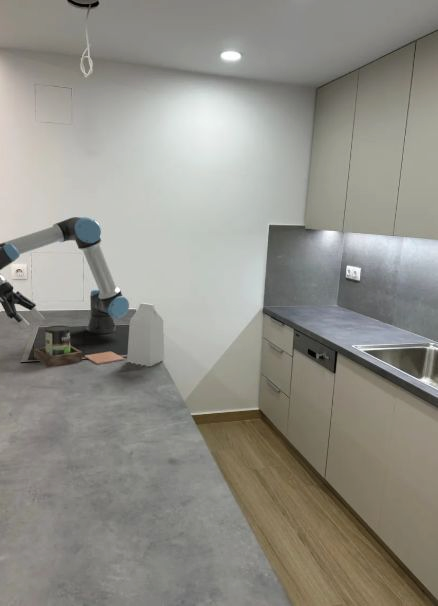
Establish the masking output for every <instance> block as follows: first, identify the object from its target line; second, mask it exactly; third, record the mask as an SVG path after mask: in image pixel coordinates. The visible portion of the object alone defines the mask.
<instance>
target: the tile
mask: <svg viewBox="0 0 438 606" xmlns="http://www.w3.org/2000/svg"><path fill="white" fill-rule="evenodd" d="M84 358H85V359H87V358H88V359H87V360H88V361H90V362H93V363H94V364H95V365H103V364H107V363H108V364H109V363H115V362H119V361H120V360H121V361H125V357H123V356H121V355H119V354H117V353H116V352H113V351H105V352H98V353H93V354H85V355H84ZM114 361H115V362H114Z"/></svg>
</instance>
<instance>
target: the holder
mask: <svg viewBox="0 0 438 606" xmlns="http://www.w3.org/2000/svg"><path fill="white" fill-rule="evenodd" d="M33 358H34V359H36V360H37V359H38V360H39V361H38V360H37V361H38V362H39V363H41V364H42V365H43V366H45V367H46V368H50V367H56V366H61V365H66V364H72V363H73V364H74V363H79V362H83V352H82V351H81V350H80V349H78V348H76V347H74V346H72V345H71V344H70V353H68V354H62V355H55V356H47V355H46V346H43V347H38V348H37V347H36V348H33Z"/></svg>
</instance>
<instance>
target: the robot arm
mask: <svg viewBox="0 0 438 606" xmlns="http://www.w3.org/2000/svg"><path fill="white" fill-rule="evenodd" d="M101 234H102V230H101V226H100V224H99V223H98V222H97V221H96V220H95V219H93V218H90V217H86V216H85V217H78V216H76V217H75V216H74V217H69V218H67V219H65V220H62V221H60V222H57V223H54V224H52V226H51V227H48V228H47V227H46V228H44V229H41V230H38V231H36V232H35V231H34V232H32V233H29V234H26V235H23V236H19V237H17V238H13V239H11V240H8V241H4V242H2V243H1V242H0V271H1V270H3V269H4V268H6V267H8V266H9V265H10V264H12V263H13V262H15V261H16V260H17V259H19V258H20V255H23V254H26V253H28V252H31V251H34V250H38V249H40V248H43V247H45V246H49V245H52V244H54V243H57V242H59V243H64V242H68V241H75V243H76V245H77V248H78V249H79V250H81V251H82V252H83V254H84V257H85V260H86V262H87V264H88V266H89V269H90V272H91V274H92V276H93V279H94V281H95V283H96V286H97V289H92V290H91V291H90V296H89V298H90V318H89V320H88V324H87V326H86V327H87V328H86V329H87V332H89V333H91V334H102V335H103V334H111V333H114V332H115V331H116V324H115V321H114V318H118V319H119V318H122V317H124V316H126V314H127V313H128V311H129V309H130V308H129V307H130V302H129V300H128V298H127V297H125V296H124V295H123V294H122V291H121V289H120V288H119V287H117V286H116V284H115V281H114V278H113V276H112V273H111V271H110V269H109V266H108V265H109V264H108V263H107V260H106V258H105V256H104V252H103V250H102V247H101V245H100V244H101V243H102V239H101ZM0 304H1V306H2V308H3V309H4V312H5V313H6V316H7V317H8V318H10V319H14V320H16V321H17V323H18V324H19V326H21V327H22V328H23V330H26V328H28V327H29V326H30V323H29V322H28V320H26V319H25V318H24V317H23V316H22V315H21V314H20V312H17V309H16V306H15V305H19V306H22V307H23V308H25V309H27V310H29V313H31V314H32V315H33V317H34V318H35V319H36V320H37V321H38V322H39V323H41V322H42V321H43V320H45V317H44V316H43V314H41V313H40V312H39V310H38V309H37V308H36V306H37V305H36V303H34V302H33V301H32V300H31V299H29V298H28V297H26V296H25V295H23V294H22V293H21V292H20V291H19V290H17V291H16V292H14V286H13V285H12V284H11V283H10V282H8V280H7V279H6V277H4V275H3V274H1V273H0Z"/></svg>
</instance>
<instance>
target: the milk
mask: <svg viewBox="0 0 438 606" xmlns="http://www.w3.org/2000/svg"><path fill="white" fill-rule="evenodd" d="M164 336H165V335H164V319H163V318H162V317H161V316H160V314H159V313H158V312H157V311H156V308H155V304H153V303H146V302H140V303H139V306H138V308H137V310H136V311H135V313H134V315H132V317H131V319H130V321H129V328H128V341H127V342H128V344H127V356H126V357H127V358H126V363H128V362H131V363H130V364H133V363H136V364H135V365H138V364H141V365H140V366H143V365H146V366H145V367H148V366H151V365H153V364H155V363H157V362H159V363H161V362H160V361H161V360H162V362H163V361H165V344H164V343H165V342H164V340H165V337H164ZM157 364H158V363H157ZM155 365H156V364H155ZM153 366H154V365H153ZM151 367H152V366H151Z"/></svg>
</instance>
